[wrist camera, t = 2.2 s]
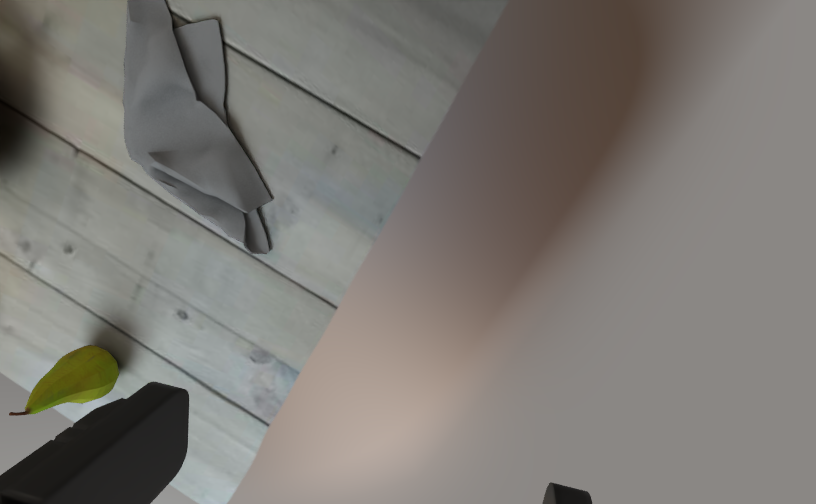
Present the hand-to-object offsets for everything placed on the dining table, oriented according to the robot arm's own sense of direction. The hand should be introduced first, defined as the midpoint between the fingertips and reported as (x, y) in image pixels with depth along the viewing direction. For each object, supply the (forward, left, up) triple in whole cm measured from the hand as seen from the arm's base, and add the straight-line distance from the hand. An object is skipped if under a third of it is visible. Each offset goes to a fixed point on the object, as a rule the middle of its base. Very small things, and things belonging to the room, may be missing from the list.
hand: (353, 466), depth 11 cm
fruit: (+41, -20, -36) cm, 59 cm away
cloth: (+12, -25, -36) cm, 46 cm away
